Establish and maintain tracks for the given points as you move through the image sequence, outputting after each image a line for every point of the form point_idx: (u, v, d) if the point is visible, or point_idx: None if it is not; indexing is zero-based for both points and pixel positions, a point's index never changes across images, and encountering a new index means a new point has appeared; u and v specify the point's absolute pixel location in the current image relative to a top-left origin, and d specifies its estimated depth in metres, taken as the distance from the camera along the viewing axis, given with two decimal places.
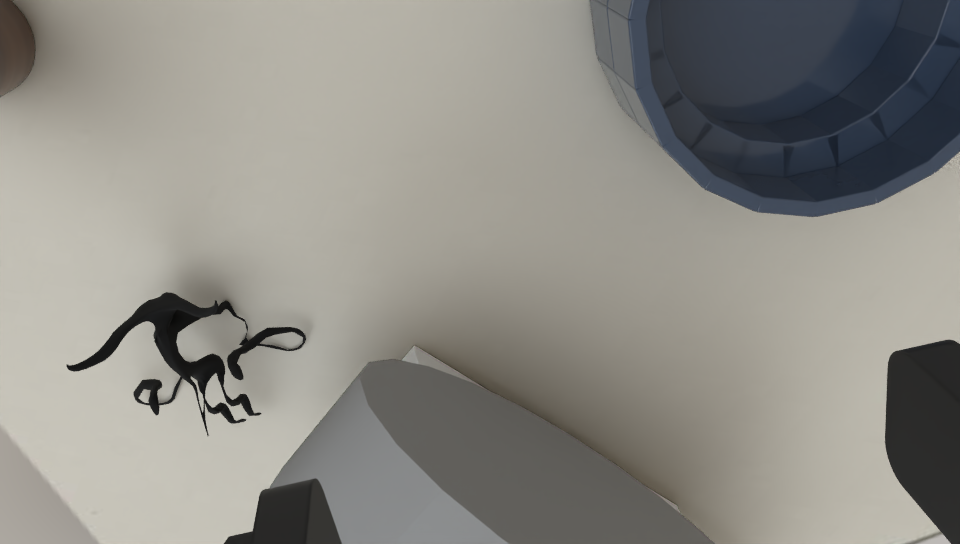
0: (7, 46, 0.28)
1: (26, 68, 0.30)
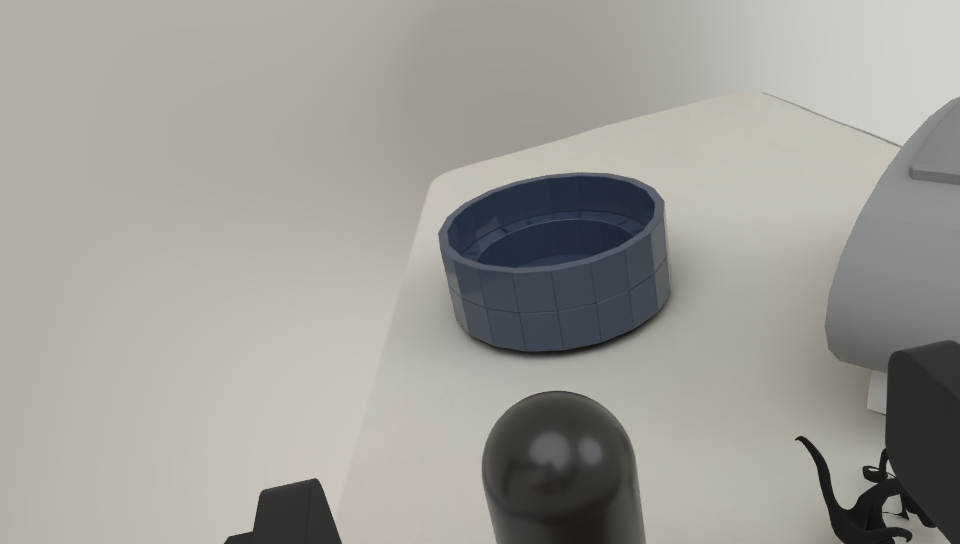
0: None
1: None
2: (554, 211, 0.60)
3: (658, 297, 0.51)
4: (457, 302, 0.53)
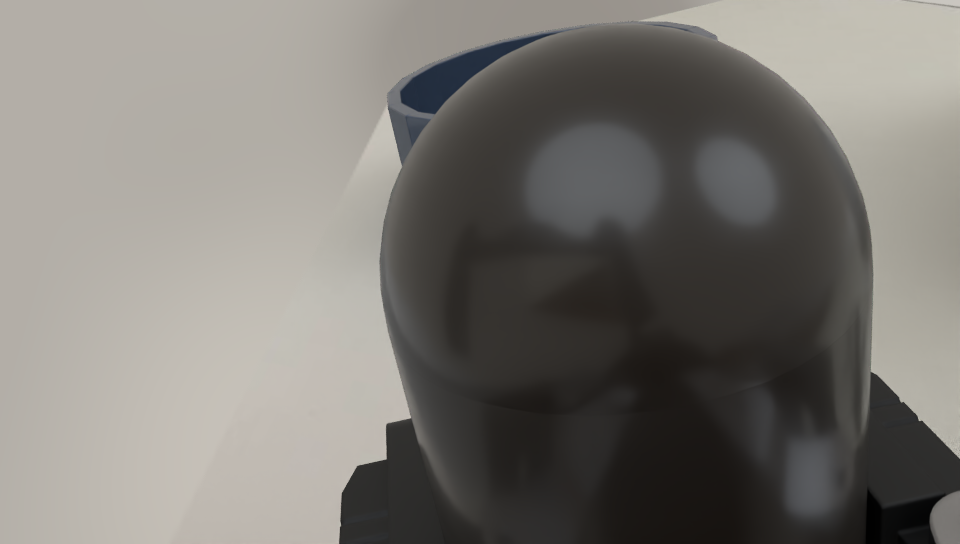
0: None
1: None
2: None
3: None
4: None
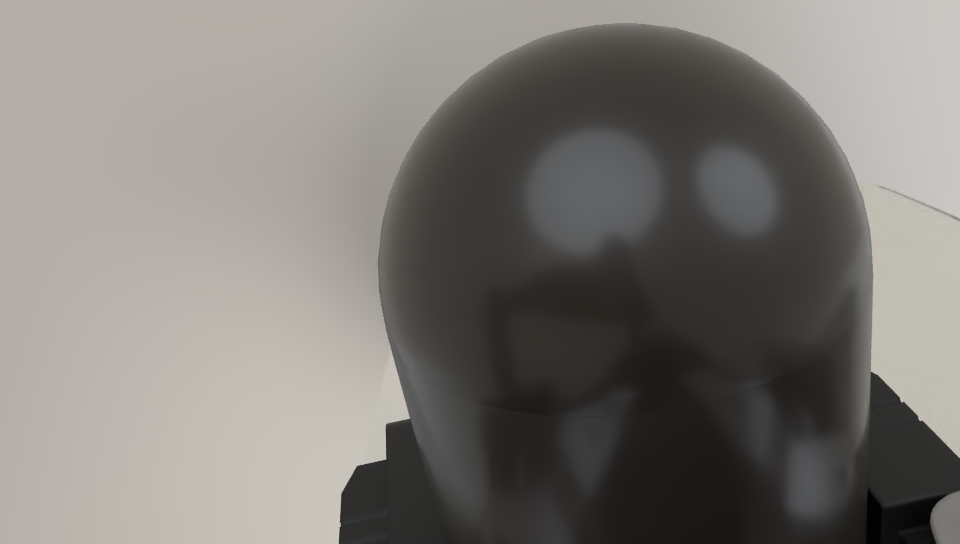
0: None
1: None
2: None
3: None
4: None
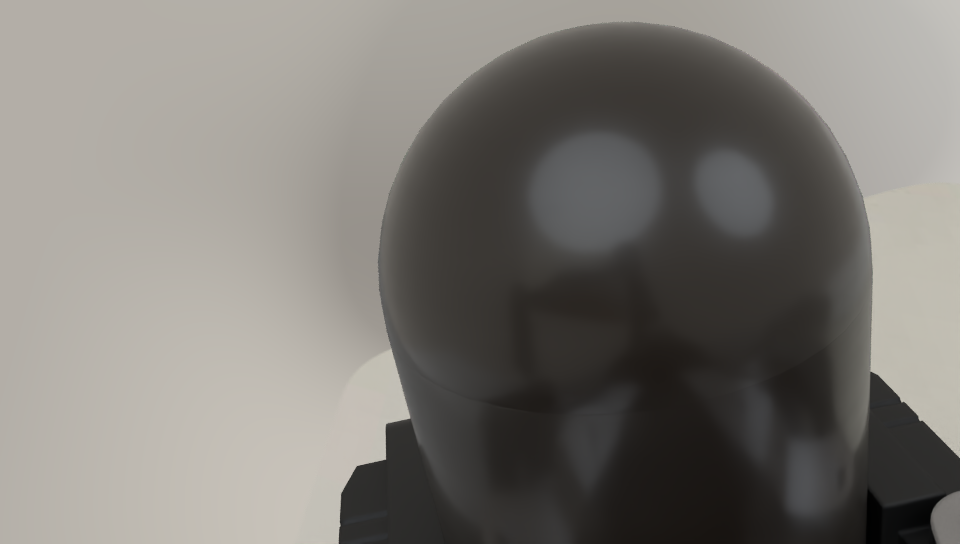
0: None
1: None
2: None
3: None
4: None
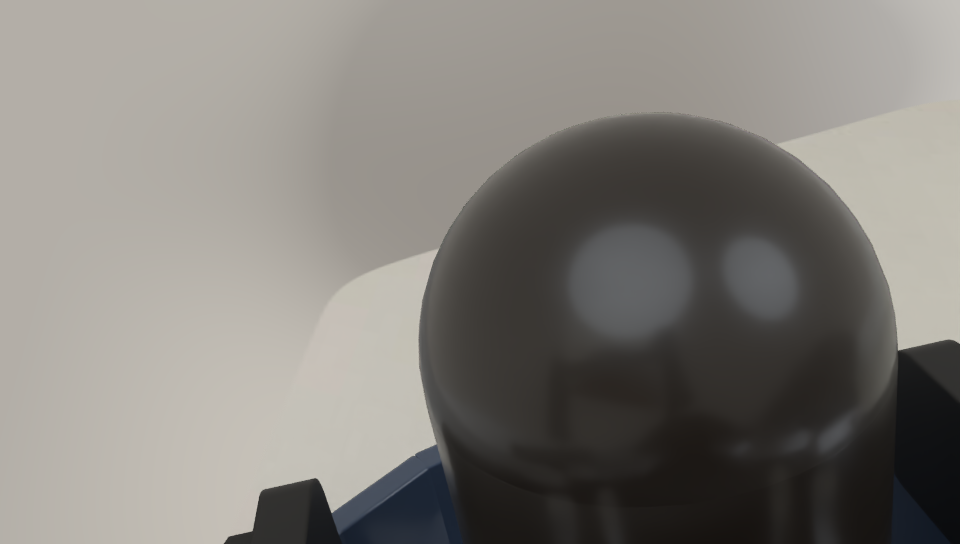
0: None
1: None
2: None
3: None
4: None
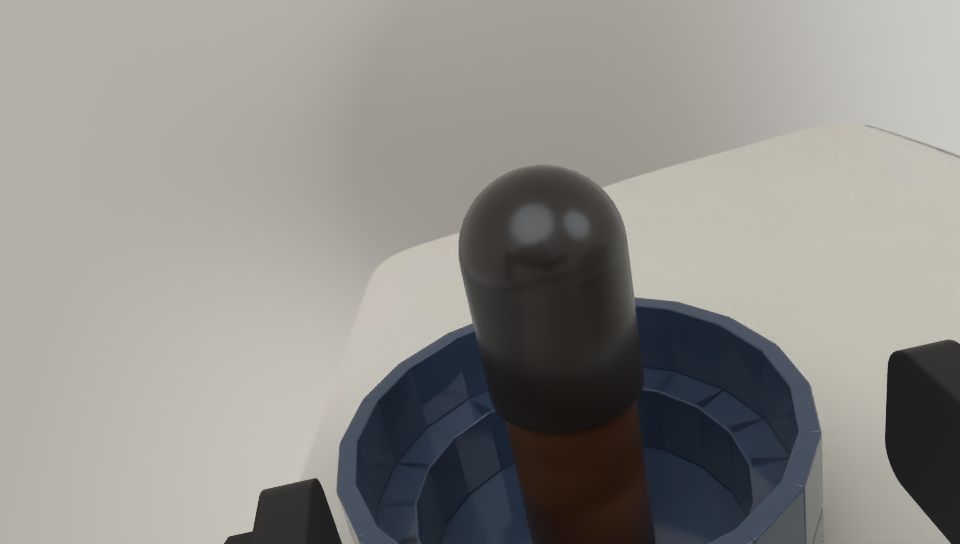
0: None
1: None
2: None
3: None
4: None
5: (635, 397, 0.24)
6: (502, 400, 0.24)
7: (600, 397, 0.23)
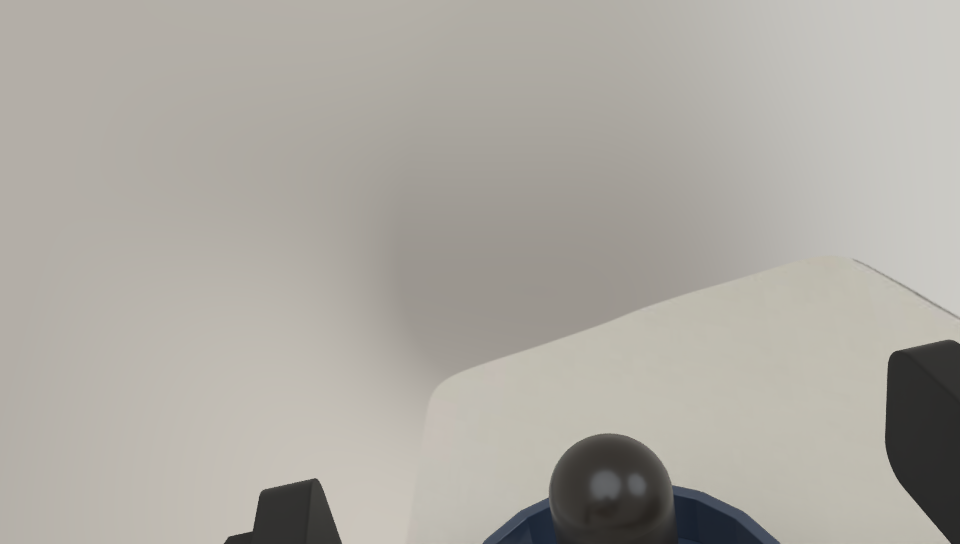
0: None
1: None
2: None
3: None
4: None
5: None
6: None
7: None
